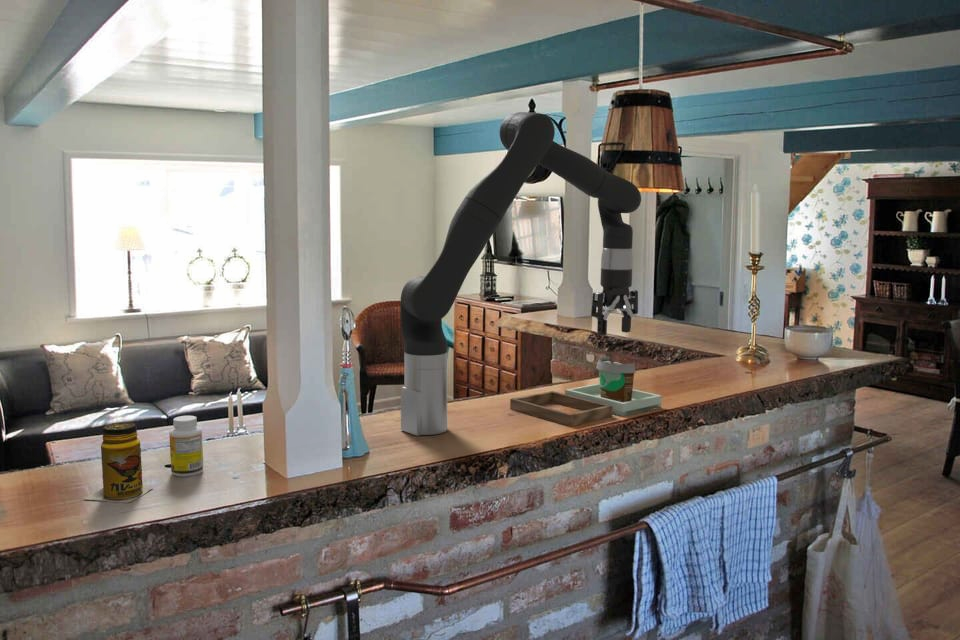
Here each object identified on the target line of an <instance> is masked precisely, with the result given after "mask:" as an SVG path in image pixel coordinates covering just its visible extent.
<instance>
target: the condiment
mask: <svg viewBox="0 0 960 640" xmlns="http://www.w3.org/2000/svg"><path fill="white" fill-rule="evenodd" d="M137 430H138V427H137V425H136V423H135V422H131V421H130V422H128V421H120V422H119V421H118V422H112V423H109V424H106V425H105V426H104V427H102V442H101V444H100V452H101V453H100V456H101V470H102V474H101V475H102V476H101V477H102V485H103V486H102V488H100V489H99V490H97V491H96V492H94V493H92V494H90V495H88V496H86V497H84V498H83V500H87V501H88V500H89V501H92V500H93V501H100V502H101V501H103V502H110V503H111V502H112V503H125V504H126V503H131V502H133V501H134V500H136V499H139V498H140V497H142V496H143V495H145V494H146V493H148V492H149V491H150V490H151V491H152V489H153V488H155V487H153V486H151V487H150V486H143V469H142V467H143V466H142V448H141V441H140V439H139V438H138V434H139V433H138V431H137Z"/></svg>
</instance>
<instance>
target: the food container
mask: <svg viewBox="0 0 960 640" xmlns="http://www.w3.org/2000/svg"><path fill="white" fill-rule="evenodd" d="M635 365H636V364H634V363H631V364H629V363H627V364H625V363H624V362H622V361H615V360H611V357H610V356H602V357H600V358H599V359H598V361H597V363H596V367H595V368H596V370H598V372H599V374H598V375H599V383H600V395H601V397H602V398H606V399H610V400H615V401H619V402H628V401H632V390H633V388H634V379H635V377H634V376H635V374H636V372H637V371H636V366H635Z"/></svg>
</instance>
